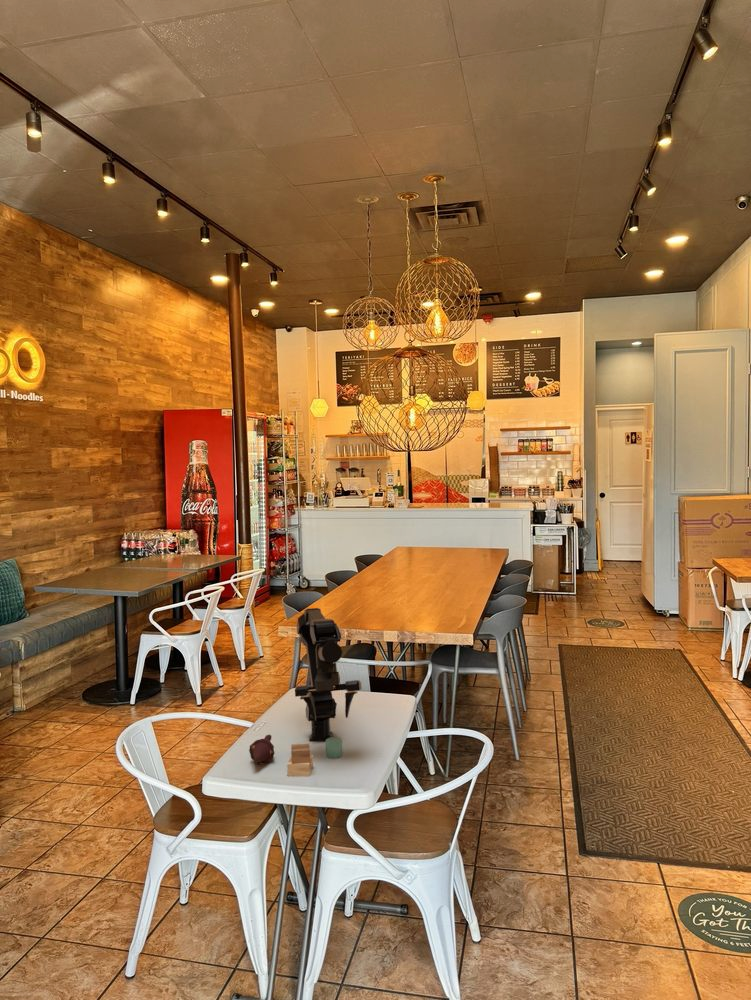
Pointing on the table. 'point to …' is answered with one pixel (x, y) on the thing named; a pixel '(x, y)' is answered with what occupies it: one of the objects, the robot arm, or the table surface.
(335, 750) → the sage green cylinder
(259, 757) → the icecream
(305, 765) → the tower base
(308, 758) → the tower top
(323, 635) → the robot arm
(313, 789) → the table surface
